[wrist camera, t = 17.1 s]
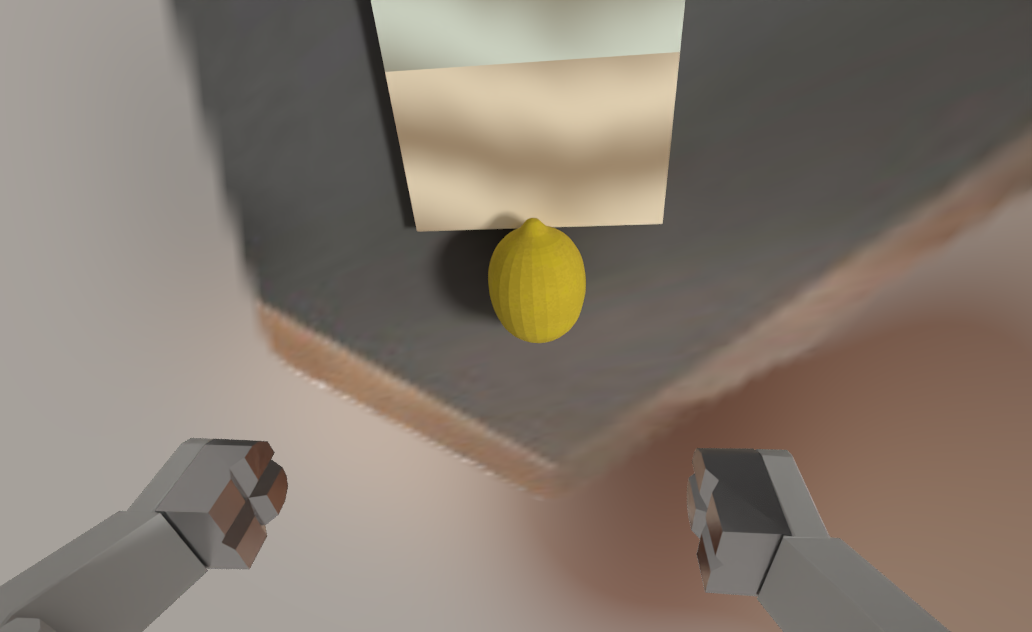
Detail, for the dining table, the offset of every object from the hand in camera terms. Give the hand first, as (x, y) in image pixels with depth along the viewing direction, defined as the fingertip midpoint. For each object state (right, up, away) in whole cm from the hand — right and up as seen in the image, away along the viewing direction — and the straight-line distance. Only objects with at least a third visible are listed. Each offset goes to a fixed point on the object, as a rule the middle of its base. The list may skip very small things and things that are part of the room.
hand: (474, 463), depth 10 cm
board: (+1, +15, +15) cm, 21 cm away
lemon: (+2, +8, +17) cm, 19 cm away
